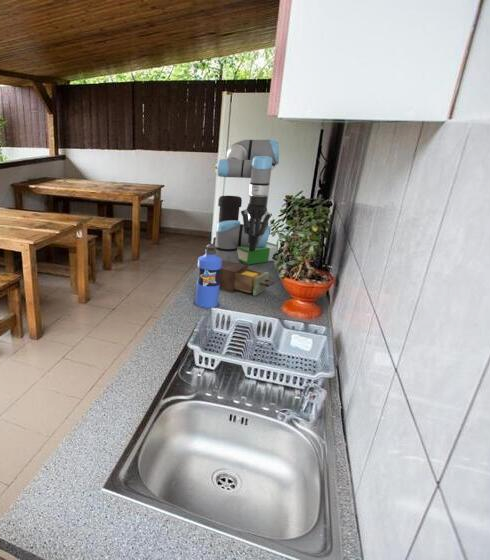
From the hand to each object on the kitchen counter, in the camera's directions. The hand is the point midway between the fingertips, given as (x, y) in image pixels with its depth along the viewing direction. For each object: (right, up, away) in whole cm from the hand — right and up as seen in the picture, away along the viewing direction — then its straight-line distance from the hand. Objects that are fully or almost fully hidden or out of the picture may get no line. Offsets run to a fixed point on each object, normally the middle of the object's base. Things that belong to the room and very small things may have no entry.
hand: (251, 250), depth 183 cm
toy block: (0, -16, +5) cm, 16 cm away
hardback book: (+7, +2, +49) cm, 50 cm away
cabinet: (-9, -15, +13) cm, 22 cm away
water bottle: (-21, -22, -9) cm, 32 cm away
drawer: (+1, -17, +5) cm, 18 cm away
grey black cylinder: (+10, +9, +85) cm, 86 cm away
